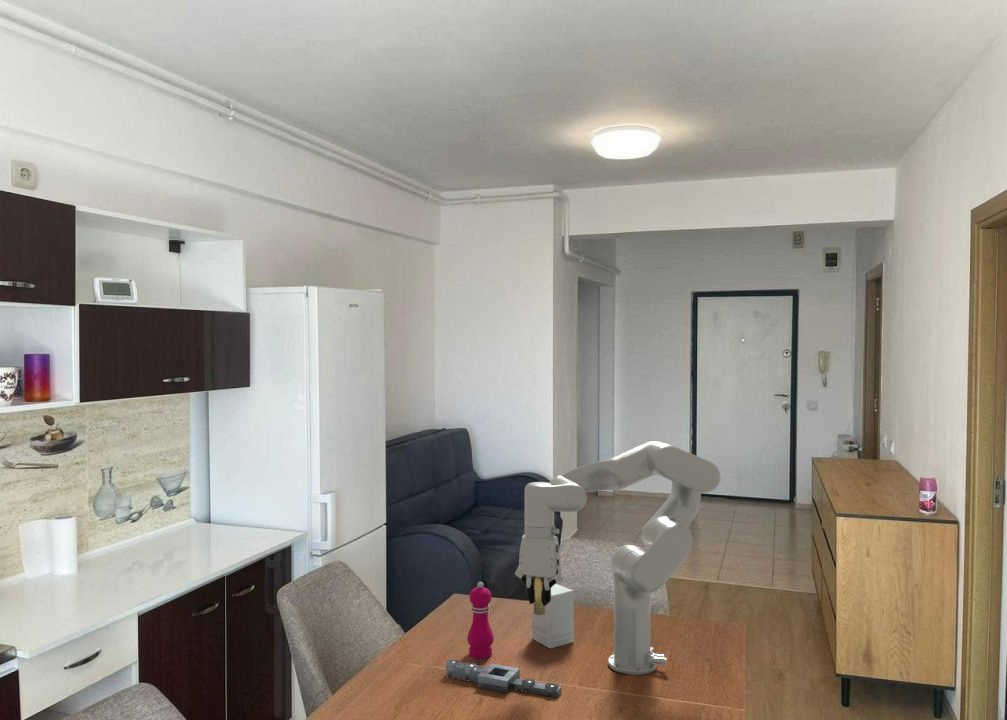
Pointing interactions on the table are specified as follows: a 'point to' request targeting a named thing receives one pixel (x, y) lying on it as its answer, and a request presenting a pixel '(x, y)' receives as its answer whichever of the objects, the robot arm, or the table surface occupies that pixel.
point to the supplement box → (555, 619)
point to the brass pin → (538, 595)
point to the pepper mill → (480, 623)
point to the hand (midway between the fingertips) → (539, 602)
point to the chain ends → (499, 678)
